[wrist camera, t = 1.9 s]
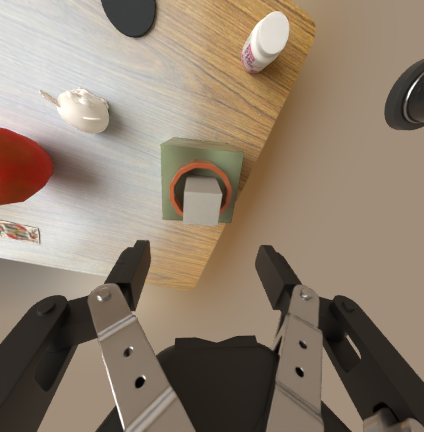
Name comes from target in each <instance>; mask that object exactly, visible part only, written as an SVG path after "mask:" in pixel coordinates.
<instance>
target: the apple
mask: <svg viewBox="0 0 424 432" xmlns="http://www.w3.org/2000/svg"><path fill="white" fill-rule="evenodd" d="M53 170H54V166H53V163H52V160H51V158H50V157H49V155H48V154H47V153H46V151H45V150H44V149H43V148H42V147H41V146H40V145H38V144H37V143H36V142H34V141H32V140H31V139H29V138H27V137H25V136H22V135H20V134H17V133H15V132H12V131H10V130H8V129H4V128H0V205H4V204H11V203H17V202H24V201H25V200H27V199H28V198H29V197H31V196H32V195H34V194H35V193H36V192H38V191H39V190H40V189H41V188H43V187H44V186H45V185H46V183H47V182H48V180H49V179H50V177H51V176H52V174H53Z"/></svg>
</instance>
